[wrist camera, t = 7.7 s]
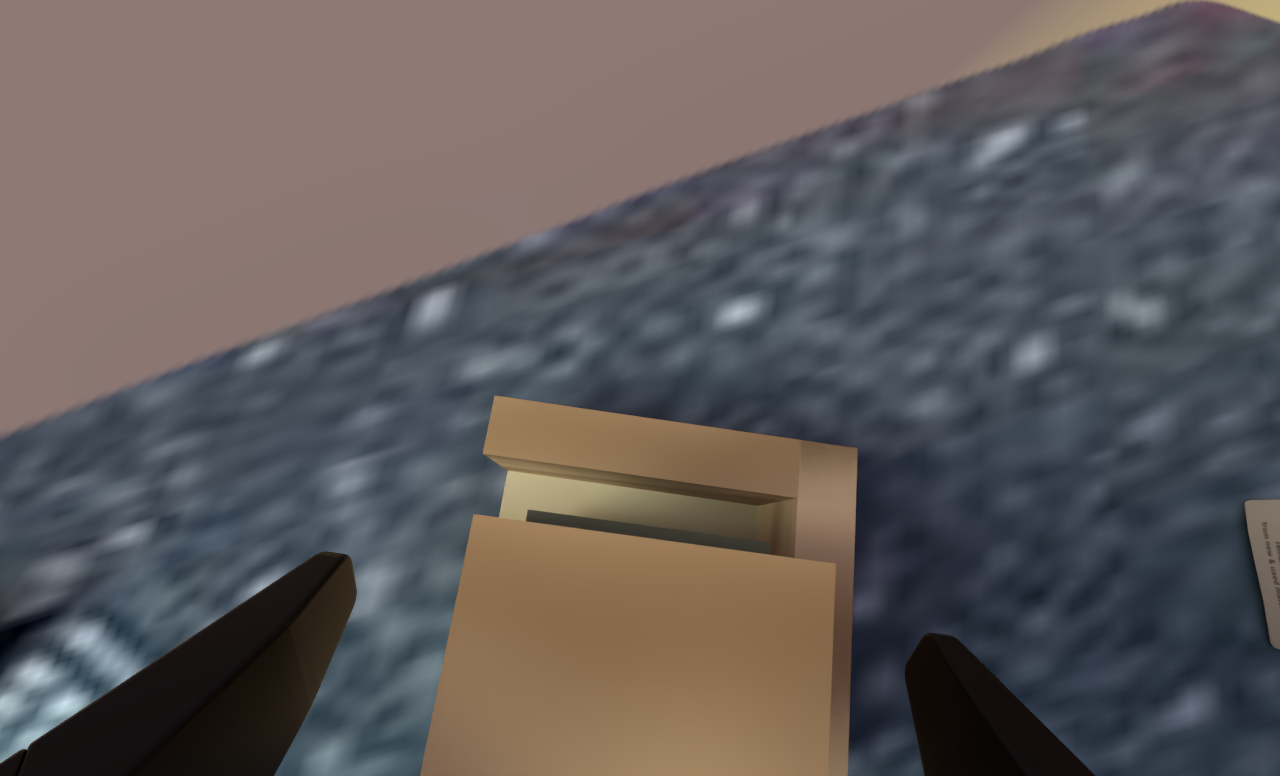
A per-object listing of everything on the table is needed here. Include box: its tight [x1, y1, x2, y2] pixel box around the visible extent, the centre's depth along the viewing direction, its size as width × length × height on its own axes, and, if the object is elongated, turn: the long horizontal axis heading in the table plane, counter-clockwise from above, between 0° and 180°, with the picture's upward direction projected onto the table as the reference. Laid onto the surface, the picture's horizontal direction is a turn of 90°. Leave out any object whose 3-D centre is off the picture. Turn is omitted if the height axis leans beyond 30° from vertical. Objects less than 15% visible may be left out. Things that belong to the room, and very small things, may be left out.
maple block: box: [420, 509, 836, 776], centre depth 12 cm, size 5×5×10 cm
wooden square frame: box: [483, 396, 858, 776], centre depth 15 cm, size 10×10×4 cm
